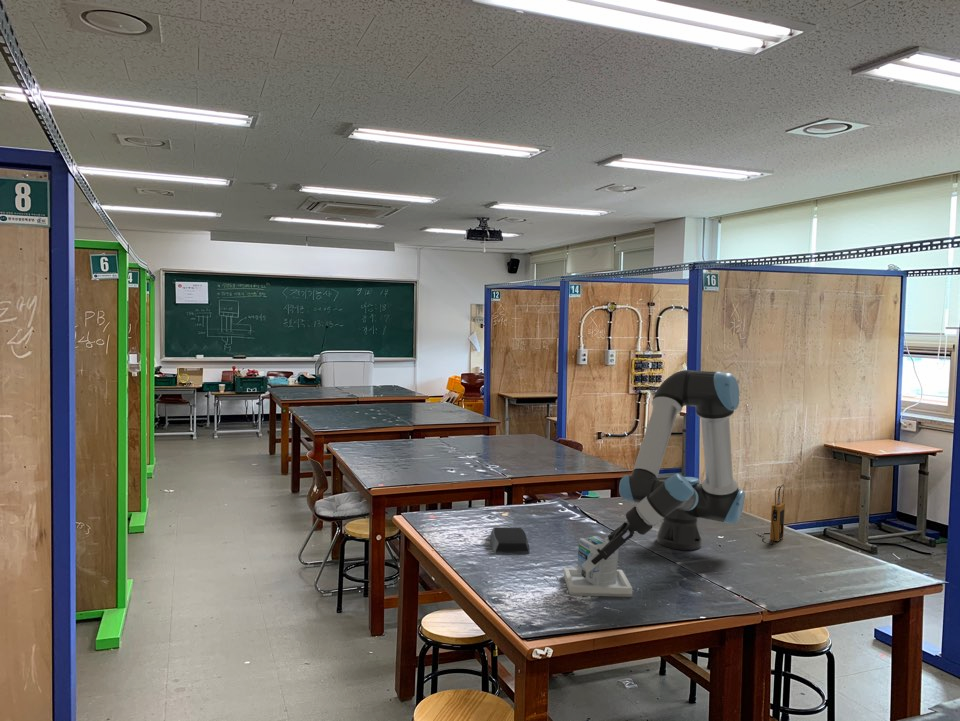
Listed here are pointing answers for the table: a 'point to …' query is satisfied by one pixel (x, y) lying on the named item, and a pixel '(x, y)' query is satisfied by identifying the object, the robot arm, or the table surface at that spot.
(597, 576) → the light bulb box
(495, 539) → the external hard drive
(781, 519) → the multimeter
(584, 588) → the housing tray
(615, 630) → the table surface
